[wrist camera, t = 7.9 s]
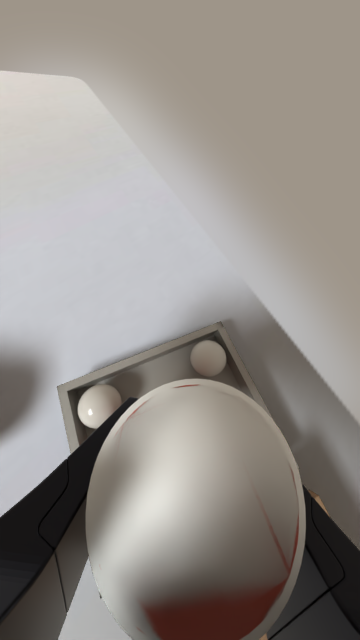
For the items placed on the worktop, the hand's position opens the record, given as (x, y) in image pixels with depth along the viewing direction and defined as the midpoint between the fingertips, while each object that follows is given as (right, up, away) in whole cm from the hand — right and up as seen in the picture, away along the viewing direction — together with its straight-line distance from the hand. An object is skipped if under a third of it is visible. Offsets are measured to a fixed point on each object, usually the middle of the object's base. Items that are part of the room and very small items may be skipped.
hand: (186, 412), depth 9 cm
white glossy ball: (+2, +1, +9) cm, 9 cm away
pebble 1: (-6, -3, +7) cm, 10 cm away
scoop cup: (-1, -4, +6) cm, 7 cm away
